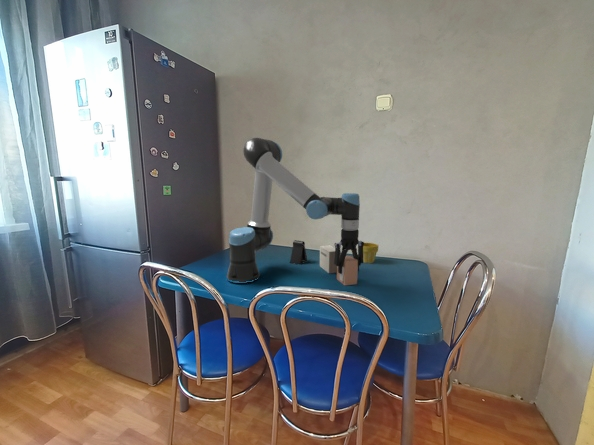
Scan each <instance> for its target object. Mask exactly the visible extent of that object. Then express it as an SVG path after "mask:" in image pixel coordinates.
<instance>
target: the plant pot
mask: <svg viewBox="0 0 594 445" xmlns="http://www.w3.org/2000/svg"><path fill="white" fill-rule="evenodd" d="M378 251H379V244H377V243H373V242H364V246H363V264H364V263H365V264H373V263H375V260H376V256H377V253H378Z"/></svg>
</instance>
